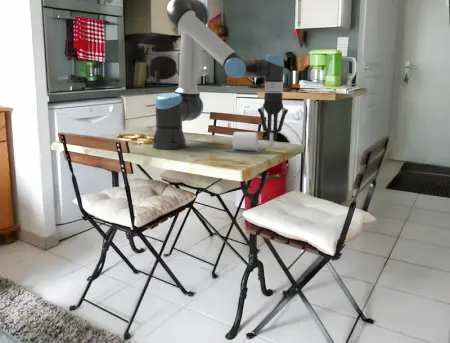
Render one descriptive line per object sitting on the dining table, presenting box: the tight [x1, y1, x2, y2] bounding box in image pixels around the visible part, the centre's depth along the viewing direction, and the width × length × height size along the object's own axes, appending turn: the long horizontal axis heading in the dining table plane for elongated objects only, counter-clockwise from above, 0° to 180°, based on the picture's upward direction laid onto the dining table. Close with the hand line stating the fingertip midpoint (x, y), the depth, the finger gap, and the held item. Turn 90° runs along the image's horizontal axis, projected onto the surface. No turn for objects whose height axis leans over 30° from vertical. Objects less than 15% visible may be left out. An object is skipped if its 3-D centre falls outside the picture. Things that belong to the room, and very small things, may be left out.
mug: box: [232, 131, 259, 151], centre depth 196 cm, size 12×10×8 cm
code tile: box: [225, 147, 266, 155], centre depth 196 cm, size 14×14×1 cm
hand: (271, 147), depth 193 cm, fingers closed
